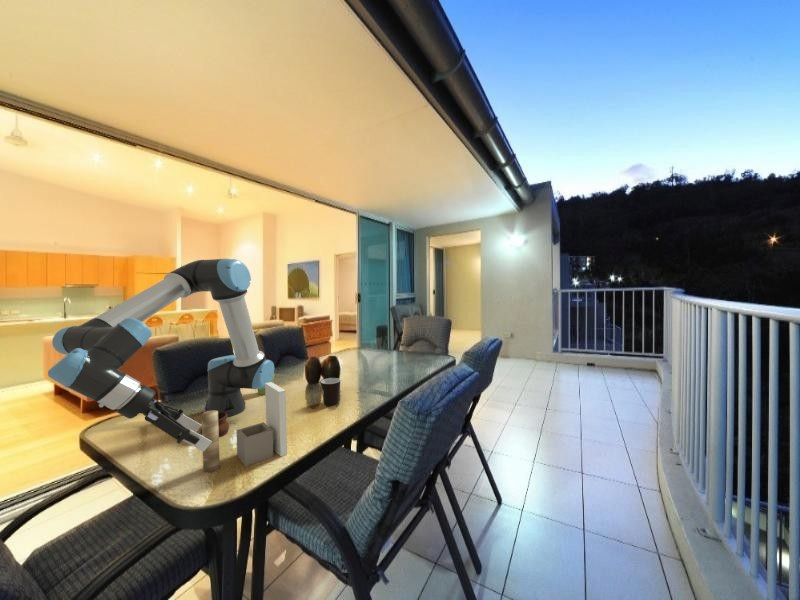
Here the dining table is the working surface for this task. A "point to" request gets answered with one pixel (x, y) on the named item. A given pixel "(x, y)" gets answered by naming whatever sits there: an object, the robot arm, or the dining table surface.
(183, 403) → the dining table surface
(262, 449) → the cup bracket
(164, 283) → the robot arm
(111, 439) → the dining table surface
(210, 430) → the oak rail
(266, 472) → the dining table surface
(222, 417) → the ceramic pot
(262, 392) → the plant pot
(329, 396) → the coffee mug
